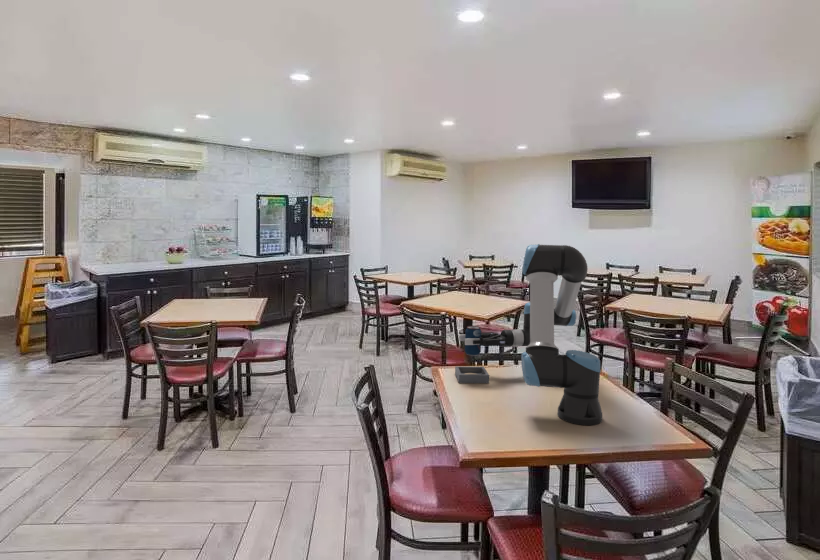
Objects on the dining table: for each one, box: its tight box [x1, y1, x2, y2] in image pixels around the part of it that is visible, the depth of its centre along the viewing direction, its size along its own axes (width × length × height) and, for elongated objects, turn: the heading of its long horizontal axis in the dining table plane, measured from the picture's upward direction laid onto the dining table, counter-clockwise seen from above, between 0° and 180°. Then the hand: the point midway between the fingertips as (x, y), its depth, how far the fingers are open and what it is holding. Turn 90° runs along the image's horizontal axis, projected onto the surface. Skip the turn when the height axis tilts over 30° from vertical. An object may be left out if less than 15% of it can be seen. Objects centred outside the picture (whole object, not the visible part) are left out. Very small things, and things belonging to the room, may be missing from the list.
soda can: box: [464, 325, 482, 357], centre depth 219 cm, size 7×7×12 cm
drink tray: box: [454, 365, 490, 384], centre depth 220 cm, size 13×13×4 cm
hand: (462, 339), depth 218 cm, fingers closed on soda can, 7 cm apart
